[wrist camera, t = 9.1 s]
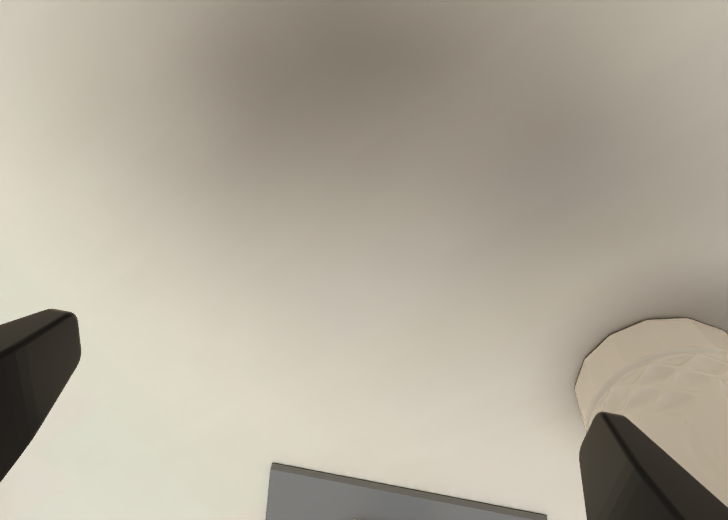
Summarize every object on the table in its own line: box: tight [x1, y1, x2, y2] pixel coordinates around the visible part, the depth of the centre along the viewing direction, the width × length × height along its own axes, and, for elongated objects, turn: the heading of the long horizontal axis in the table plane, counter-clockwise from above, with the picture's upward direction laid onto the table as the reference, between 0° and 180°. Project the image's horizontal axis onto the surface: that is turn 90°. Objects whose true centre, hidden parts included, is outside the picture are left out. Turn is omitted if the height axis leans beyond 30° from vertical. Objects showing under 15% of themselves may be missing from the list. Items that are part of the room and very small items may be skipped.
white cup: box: [575, 318, 728, 507], centre depth 18 cm, size 8×8×10 cm
